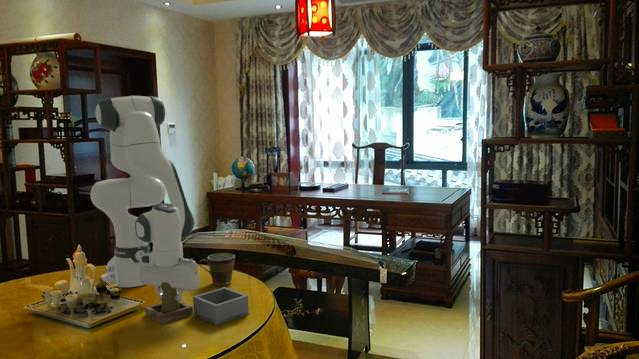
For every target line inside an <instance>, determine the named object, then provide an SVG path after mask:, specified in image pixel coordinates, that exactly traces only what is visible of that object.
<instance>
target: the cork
mask: <svg viewBox="0 0 639 359" xmlns="http://www.w3.org/2000/svg"><path fill="white" fill-rule="evenodd" d="M161 289H162V290H163V295H162V299H161V303H162V306H161V312H160V313H162V314H166V313H169V312H172V311H175V310H179V309H180V306H179V302H175V296H177V295H178V292H177V288H171V286H170V284H169V283H167V282H162V283H161Z"/></svg>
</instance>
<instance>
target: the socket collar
mask: <svg viewBox="0 0 639 359" xmlns="http://www.w3.org/2000/svg"><path fill="white" fill-rule="evenodd" d="M161 306H162V302H160V303H156V304H153V305H148V306H145V308H144V309H145V310H144V311H145V312H144V314H145V316H146V317H148V318H149V319H151V320H153V321H155V322H157V323H159V324H161V325H164V324H169V323H171V322H174V321H177V320H180V318H181V319H183V318H186V316H187V317H189V316H192V315H193V316H194V308H193V306H192V305H190V304H188V303H185V302H183V301H180V302H179V306H180V309H179V310H175V311H172V312H169V313H166V314H162V313H161Z"/></svg>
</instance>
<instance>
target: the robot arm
mask: <svg viewBox="0 0 639 359" xmlns="http://www.w3.org/2000/svg"><path fill="white" fill-rule="evenodd" d="M94 116H95V119H96V121H97V124H98V125H99V127H100V128H102V129H103V130H107V131H109V144H110V146H109V147H110V162H111V164H112V165H113V166H114V167H115V169H117V170H119V171H122V172H124V173H126V174H128V175H129V176H130V177H127V178H126V177H125V178H109V179H105V180H100V181H96V182H95V183H94V184H93V186H92V187H91V190H90V193H89V194H90V199H91V202H92V205H94V206H95V207H96V209H99V210H100V211H102V212H103V213H105V215H106V216H107V217H108V218H109V219H110V221H111V223H112V225H113V230H114V235H115V245H113V247H114V250H113V252H114V255H113V257H111V259H110V260H109V261H108V262H107V265H106V266H105V268H104V269H105V273H104V274H102V275H101V276H100V278H101V280H102V281H103V282H104V281H105V282H107V283H109V284H117V286H118V287H117V288H134V287H136V288H137V287H141V286H145V285H147V286H148V285H149V286H154V290H155V292H156V293H157V296H158V300H162V295H163V290H162V289H161V283H162V282H167V283H169V284H170V286H171V288H177V296H175V302H180V301H181V302H183V301H182V300H183V294H184V293H185V291H194V290H196V289H197V288H199V286H200V284H201V283H200V282H201V281H200V280H201V279H200V274H199V269H198V263H197V262H196V261H194V259H191V258H184V252H183V251H184V250H183V248H184V247H183V243H182V239H185V238H187V237H188V236H189V235H190V234H191V233H192V232H193V230H194V228H195V219H194V215H193V213H192V211H191V209H190V207H189V204H188V202H187V199H186V196H185V193H184V190H183V187H182V184H181V180H180V177H179V174H178V172H177V168H176V167H175V165H174V162H173V161H171V160H170V159H168V158H167V157H166V155H165V154H164V153H165V152H163V149H162V145H161V141H160V139H161V138H160V134H159V131H158V128H157V127H159V126H161V125H162V124H163V123H164V121H165V118H166V108H165V104H164V102H163V100H162V99H161V98H160V97H158V96H155V95H154V96H153V95H148V96H143V95H129V96H118V97H117V96H116V97H112V98H111V97H106V98H102V99H99V100H98V102H97V103H96V107H95V112H94ZM166 194H167V197H168V200H169V202H170V203H166V202H164V203H163V201H164V199H165V197H166ZM151 206H152V208H151V210H149V211H147V212H144V213H140V214H139V216H135V215H133V214H130V212H129V211H128V210H129V209H133V208H145V207H151ZM150 243H152V251H151V250H150ZM105 282H104V283H105Z"/></svg>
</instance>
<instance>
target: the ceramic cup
mask: <svg viewBox="0 0 639 359" xmlns="http://www.w3.org/2000/svg"><path fill="white" fill-rule="evenodd" d="M235 258H236V255H235V254H233V253H228V252H221V253H213V254H210V255H208V256H207V259H206V258H205V259H204V258H203V259H201V260H199V262H198V264H199V267H201V268H202V269H203V270H205V271H206V272H207V273H208V274H209V275H210V277H211V280H212V285H214V286H217V287H221V286H223V287H225V286H228V285H230V284H232V279H233V278H232V277H233V270H234V265H235V260H236V259H235ZM202 262H204V263H205V262H206V263H207V265H208V267H209V270H208V268H206V267H204V266H202V265H201V263H202Z"/></svg>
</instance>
